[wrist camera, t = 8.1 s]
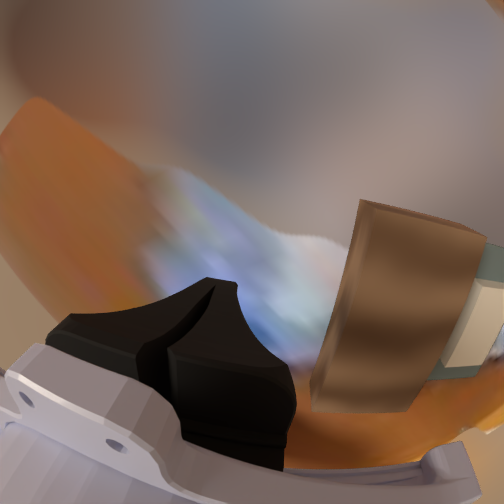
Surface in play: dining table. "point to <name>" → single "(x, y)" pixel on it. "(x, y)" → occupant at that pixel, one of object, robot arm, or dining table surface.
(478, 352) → the beige flat block
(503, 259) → the mat
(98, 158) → the dining table surface
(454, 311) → the panel
